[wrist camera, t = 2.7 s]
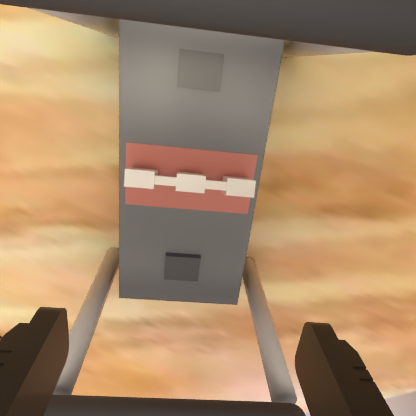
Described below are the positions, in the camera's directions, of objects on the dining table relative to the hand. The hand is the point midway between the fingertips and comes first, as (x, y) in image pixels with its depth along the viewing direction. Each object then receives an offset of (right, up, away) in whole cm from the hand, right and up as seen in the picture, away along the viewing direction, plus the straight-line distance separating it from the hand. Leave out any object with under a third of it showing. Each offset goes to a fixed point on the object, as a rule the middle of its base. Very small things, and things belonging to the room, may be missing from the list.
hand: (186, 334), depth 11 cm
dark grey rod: (-1, -8, +9) cm, 12 cm away
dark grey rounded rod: (+1, +12, +1) cm, 12 cm away
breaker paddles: (-1, +6, +15) cm, 16 cm away
